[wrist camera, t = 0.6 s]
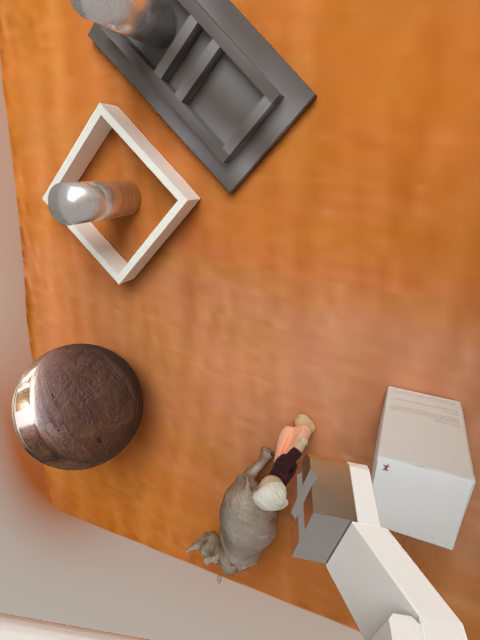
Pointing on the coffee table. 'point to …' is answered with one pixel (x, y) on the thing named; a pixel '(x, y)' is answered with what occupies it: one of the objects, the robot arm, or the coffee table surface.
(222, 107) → the tray
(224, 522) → the rhinoceros figurine
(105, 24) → the seated billet
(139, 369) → the coffee table surface
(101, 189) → the ball
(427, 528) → the supplement box
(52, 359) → the brown metallic sphere
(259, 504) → the grandmother figurine
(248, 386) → the coffee table surface
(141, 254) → the white square frame
